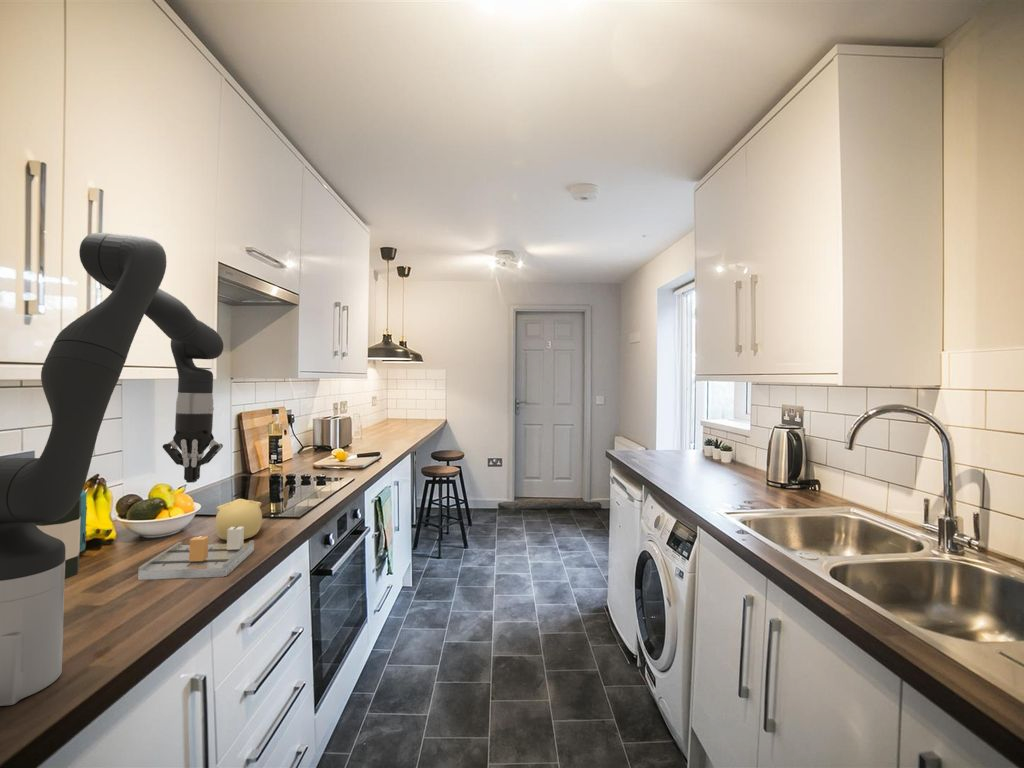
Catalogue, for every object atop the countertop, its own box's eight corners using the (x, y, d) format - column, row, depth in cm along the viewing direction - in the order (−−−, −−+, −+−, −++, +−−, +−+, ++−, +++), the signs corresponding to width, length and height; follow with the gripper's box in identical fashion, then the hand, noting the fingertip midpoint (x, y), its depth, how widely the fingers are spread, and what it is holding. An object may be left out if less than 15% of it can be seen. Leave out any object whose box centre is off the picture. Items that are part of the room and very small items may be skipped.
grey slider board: (226, 576, 104) (226, 564, 104) (138, 579, 101) (138, 567, 101) (253, 550, 119) (254, 540, 119) (178, 552, 116) (178, 542, 116)
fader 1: (203, 560, 106) (203, 538, 106) (189, 561, 105) (189, 539, 105) (207, 557, 108) (208, 535, 108) (194, 557, 108) (194, 535, 107)
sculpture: (260, 528, 137) (261, 493, 137) (263, 540, 127) (264, 502, 127) (215, 534, 131) (216, 497, 131) (214, 547, 121) (215, 507, 121)
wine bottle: (16, 585, 96) (21, 445, 96) (44, 569, 104) (48, 439, 104) (64, 582, 98) (69, 444, 98) (88, 566, 106) (92, 439, 106)
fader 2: (239, 549, 114) (240, 528, 114) (226, 549, 113) (227, 528, 113) (243, 546, 116) (244, 525, 116) (230, 546, 115) (231, 526, 115)
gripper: (155, 411, 106) (152, 485, 106) (216, 412, 108) (213, 485, 108) (173, 410, 114) (170, 479, 113) (230, 411, 116) (228, 478, 116)
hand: (191, 481), depth 111 cm, fingers closed
